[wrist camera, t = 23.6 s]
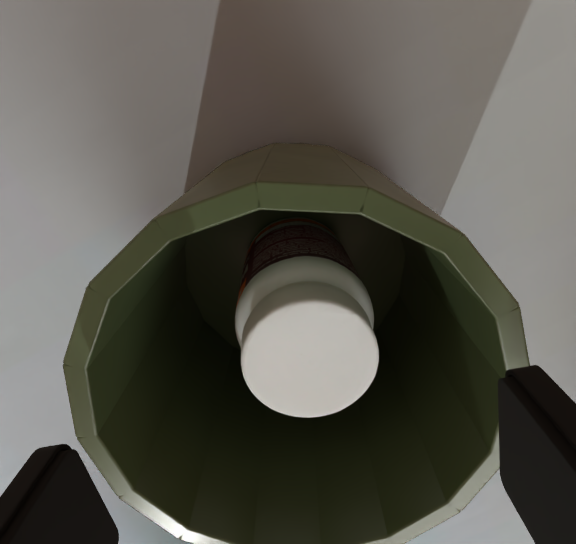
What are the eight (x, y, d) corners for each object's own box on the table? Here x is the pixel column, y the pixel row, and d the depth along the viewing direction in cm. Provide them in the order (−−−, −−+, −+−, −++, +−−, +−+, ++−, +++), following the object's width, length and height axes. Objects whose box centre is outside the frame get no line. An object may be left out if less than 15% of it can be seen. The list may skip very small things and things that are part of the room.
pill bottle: (228, 238, 19) (197, 322, 11) (325, 199, 19) (364, 260, 11) (267, 322, 21) (264, 449, 13) (358, 289, 20) (412, 399, 12)
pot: (145, 315, 21) (21, 490, 12) (229, 95, 17) (150, 79, 8) (343, 394, 23) (380, 604, 13) (460, 210, 19) (635, 317, 9)
